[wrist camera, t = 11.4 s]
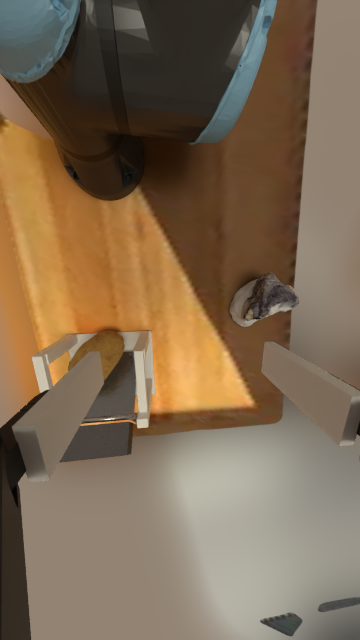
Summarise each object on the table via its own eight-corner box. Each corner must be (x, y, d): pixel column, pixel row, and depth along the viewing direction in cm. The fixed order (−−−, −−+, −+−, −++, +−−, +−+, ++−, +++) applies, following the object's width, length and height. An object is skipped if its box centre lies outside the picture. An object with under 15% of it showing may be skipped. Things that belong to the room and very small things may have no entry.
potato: (70, 381, 37) (49, 364, 32) (111, 338, 44) (98, 320, 40) (98, 399, 33) (78, 382, 28) (138, 349, 40) (128, 329, 36)
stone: (244, 332, 46) (243, 342, 32) (222, 303, 48) (212, 301, 34) (292, 301, 42) (315, 297, 28) (266, 271, 43) (276, 253, 30)
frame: (67, 334, 40) (18, 362, 27) (151, 330, 42) (145, 354, 29) (79, 398, 45) (42, 450, 31) (155, 392, 46) (151, 439, 33)
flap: (85, 359, 43) (78, 353, 40) (142, 356, 44) (140, 349, 41) (58, 461, 31) (45, 463, 28) (137, 453, 32) (134, 454, 29)
